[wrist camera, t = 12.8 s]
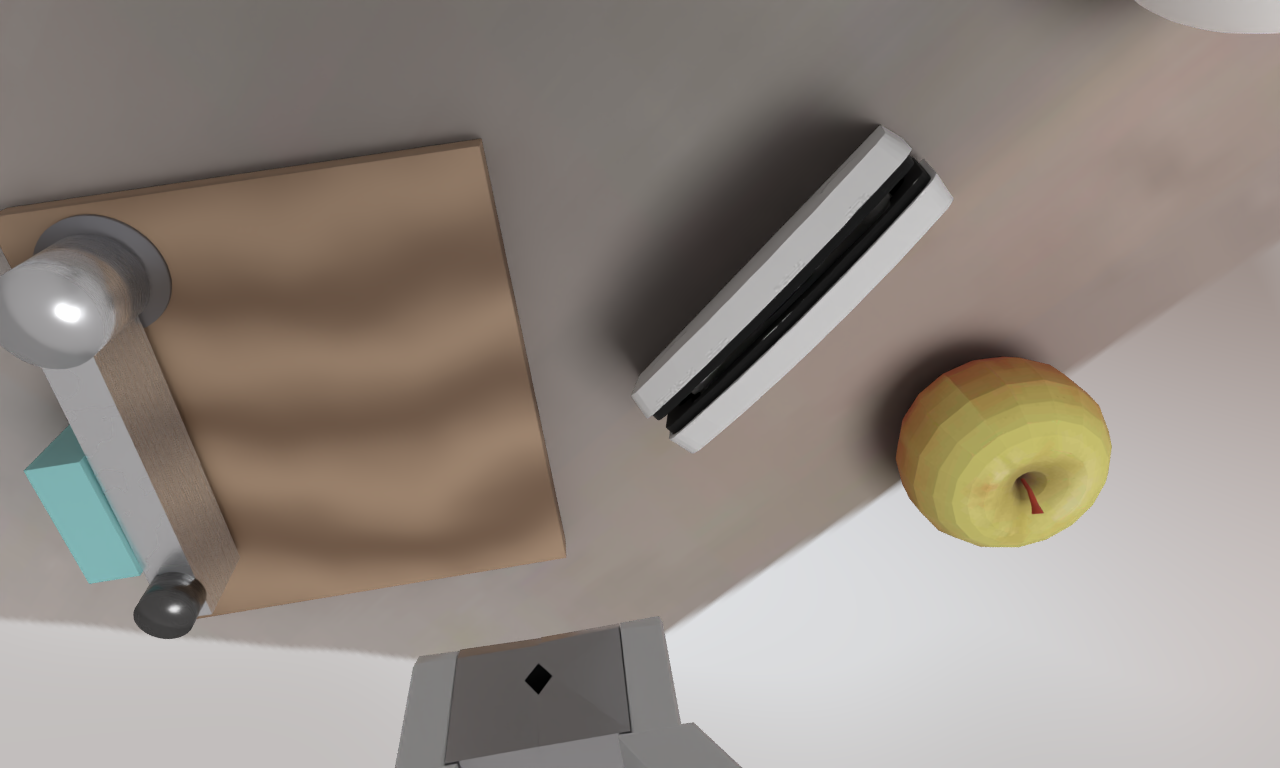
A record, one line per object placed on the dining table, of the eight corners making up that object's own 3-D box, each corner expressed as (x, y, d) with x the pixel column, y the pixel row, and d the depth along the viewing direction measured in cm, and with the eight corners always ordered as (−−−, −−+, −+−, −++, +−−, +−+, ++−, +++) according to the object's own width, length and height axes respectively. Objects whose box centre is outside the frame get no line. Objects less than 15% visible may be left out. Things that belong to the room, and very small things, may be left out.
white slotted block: (706, 432, 43) (688, 506, 34) (640, 371, 43) (604, 428, 33) (951, 192, 39) (1012, 200, 29) (879, 121, 38) (917, 106, 29)
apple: (915, 516, 48) (980, 614, 41) (846, 395, 43) (906, 482, 36) (1073, 432, 46) (1170, 519, 39) (1019, 297, 42) (1116, 368, 35)
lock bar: (26, 240, 33) (-64, 291, 28) (127, 227, 33) (56, 276, 28) (179, 566, 41) (130, 650, 36) (260, 554, 41) (222, 636, 36)
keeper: (84, 409, 37) (23, 470, 33) (133, 401, 37) (79, 462, 33) (138, 514, 40) (89, 583, 36) (183, 507, 40) (140, 575, 36)
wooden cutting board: (6, 208, 34) (-19, 220, 33) (481, 138, 35) (478, 147, 34) (202, 599, 45) (190, 623, 43) (565, 540, 46) (566, 561, 44)
